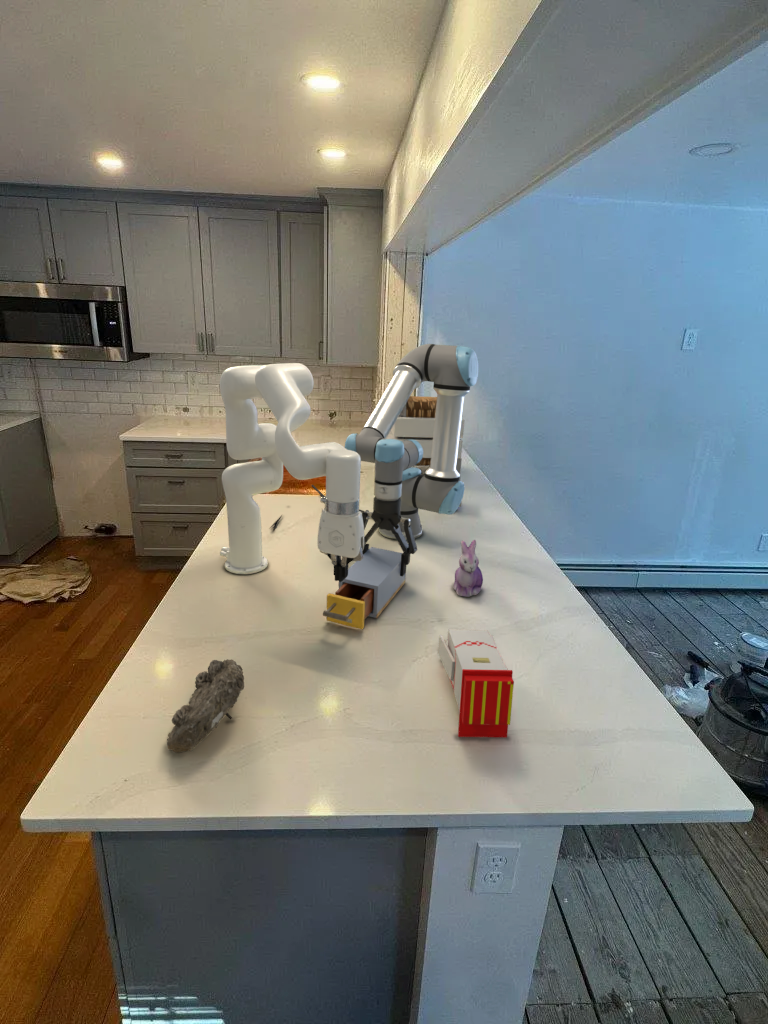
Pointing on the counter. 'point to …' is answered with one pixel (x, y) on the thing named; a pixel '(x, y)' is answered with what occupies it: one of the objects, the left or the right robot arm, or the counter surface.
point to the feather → (275, 523)
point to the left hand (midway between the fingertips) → (340, 578)
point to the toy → (478, 682)
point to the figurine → (468, 572)
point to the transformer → (421, 427)
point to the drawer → (350, 605)
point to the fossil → (206, 705)
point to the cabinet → (377, 576)
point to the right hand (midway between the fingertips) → (383, 570)
